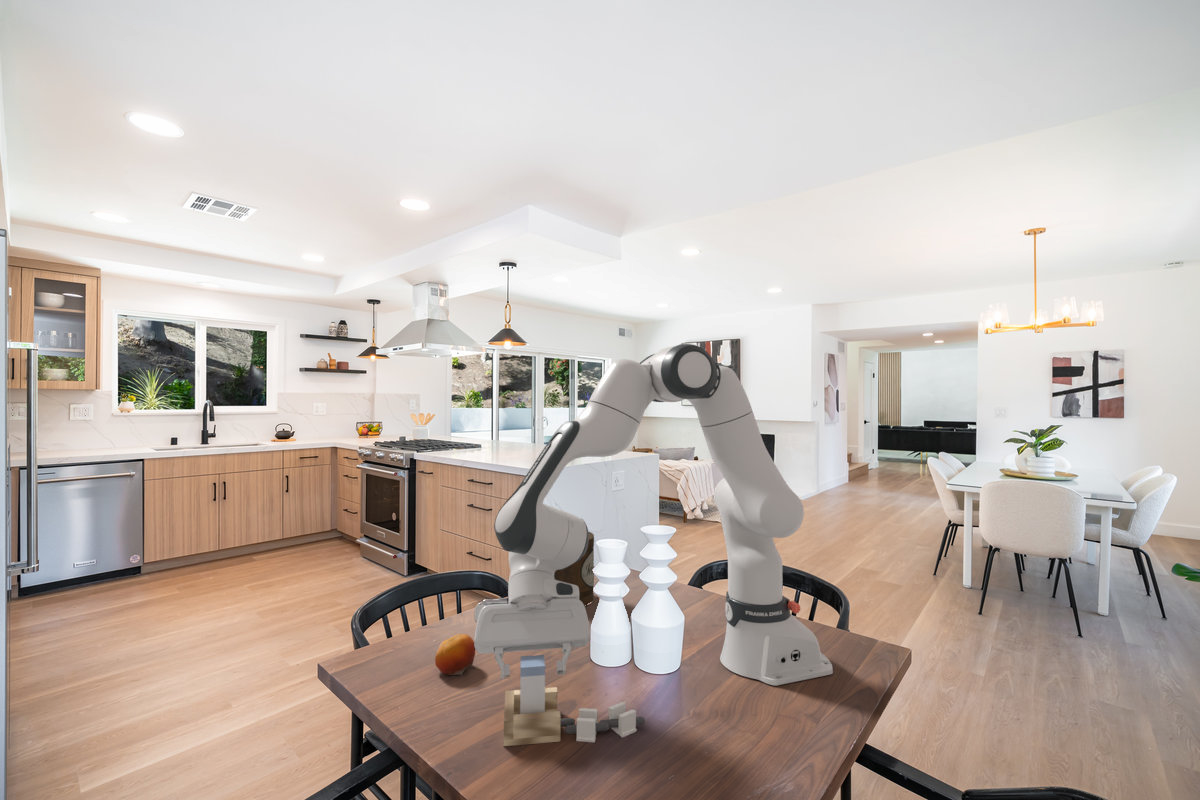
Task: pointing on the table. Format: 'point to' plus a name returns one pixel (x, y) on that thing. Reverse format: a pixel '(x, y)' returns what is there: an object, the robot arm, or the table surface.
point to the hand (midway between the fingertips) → (533, 675)
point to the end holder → (531, 720)
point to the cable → (600, 726)
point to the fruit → (455, 654)
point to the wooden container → (581, 573)
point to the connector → (532, 684)
